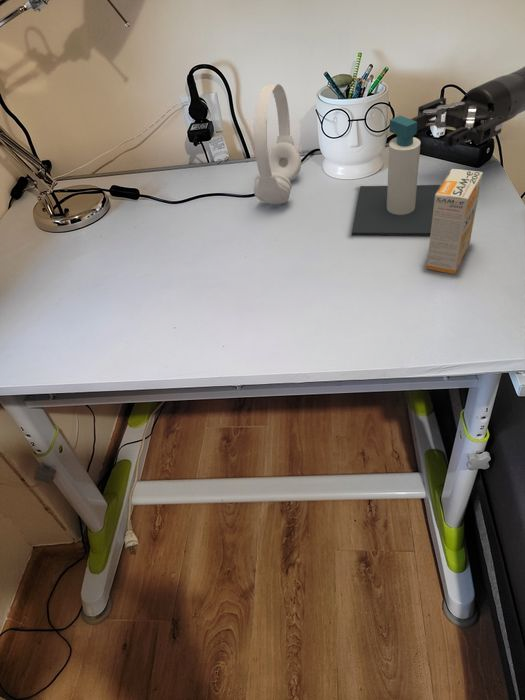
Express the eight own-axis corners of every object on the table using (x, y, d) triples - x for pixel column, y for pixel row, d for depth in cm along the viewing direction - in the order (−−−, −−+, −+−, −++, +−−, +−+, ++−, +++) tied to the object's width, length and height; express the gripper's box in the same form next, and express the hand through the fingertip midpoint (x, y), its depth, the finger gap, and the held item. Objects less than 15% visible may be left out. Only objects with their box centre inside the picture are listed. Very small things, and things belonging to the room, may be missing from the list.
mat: (446, 187, 96) (446, 184, 95) (447, 236, 85) (448, 233, 85) (360, 188, 100) (360, 186, 100) (351, 235, 89) (351, 232, 89)
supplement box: (456, 276, 78) (469, 199, 69) (425, 269, 80) (433, 194, 71) (470, 246, 83) (484, 170, 73) (440, 240, 85) (450, 166, 75)
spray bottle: (421, 207, 91) (429, 120, 80) (399, 218, 90) (405, 131, 79) (401, 197, 95) (406, 112, 84) (380, 207, 93) (383, 122, 82)
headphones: (252, 216, 98) (233, 111, 84) (273, 170, 110) (260, 71, 96) (288, 217, 96) (275, 109, 82) (305, 170, 108) (297, 68, 94)
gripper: (466, 71, 92) (398, 101, 87) (535, 89, 83) (463, 123, 78) (460, 113, 97) (396, 143, 93) (524, 135, 88) (456, 169, 84)
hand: (427, 134), depth 85 cm, fingers open, 8 cm apart
